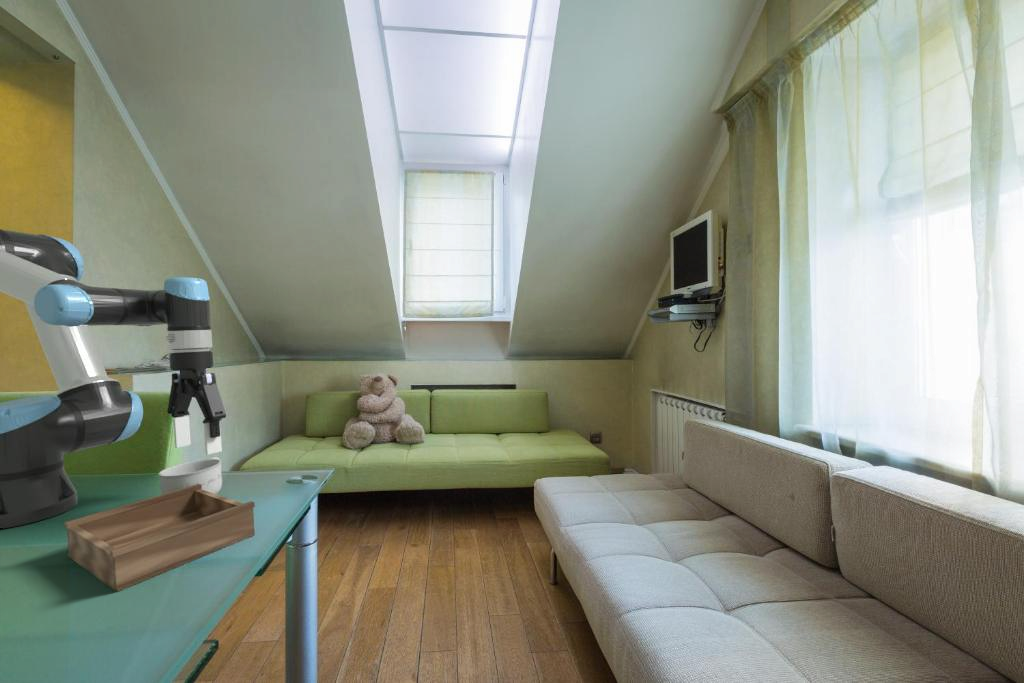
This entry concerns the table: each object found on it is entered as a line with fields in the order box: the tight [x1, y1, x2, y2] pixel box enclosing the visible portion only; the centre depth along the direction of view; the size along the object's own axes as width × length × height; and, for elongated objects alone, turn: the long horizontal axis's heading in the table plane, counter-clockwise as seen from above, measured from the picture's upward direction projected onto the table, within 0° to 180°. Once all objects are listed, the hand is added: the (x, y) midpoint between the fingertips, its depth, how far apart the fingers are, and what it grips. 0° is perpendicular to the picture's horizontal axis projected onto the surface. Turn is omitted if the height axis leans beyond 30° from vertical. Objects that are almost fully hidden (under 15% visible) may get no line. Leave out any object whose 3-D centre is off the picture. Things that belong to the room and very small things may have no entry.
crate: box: [64, 484, 256, 593], centre depth 75 cm, size 20×19×6 cm
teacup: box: [158, 456, 223, 495], centre depth 96 cm, size 14×11×8 cm
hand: (198, 449), depth 95 cm, fingers open, 13 cm apart
